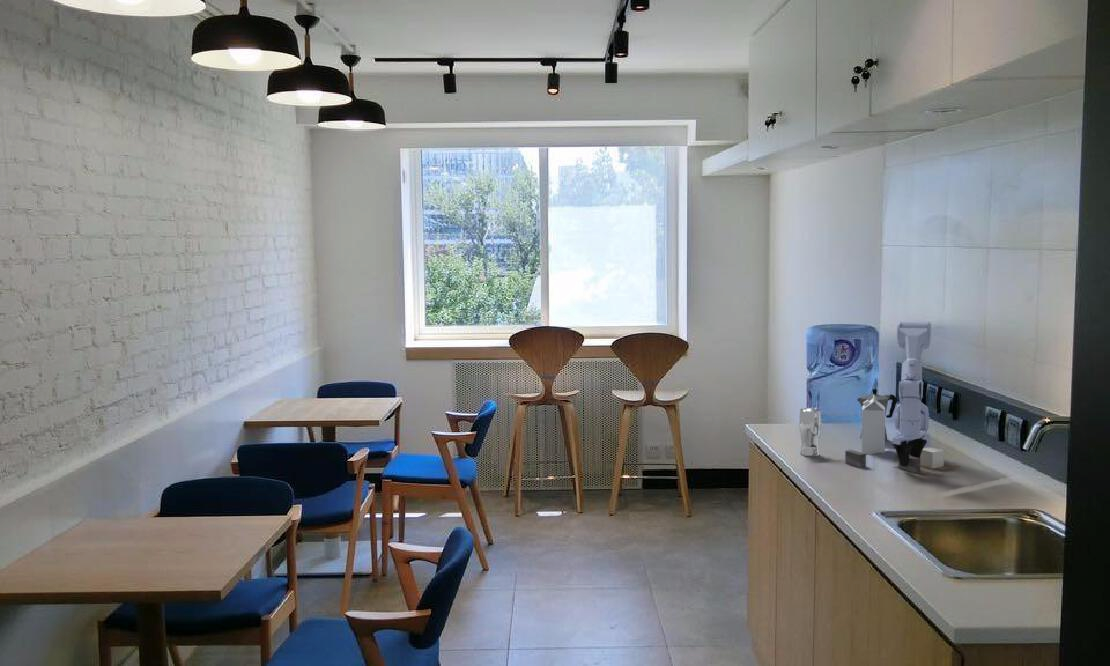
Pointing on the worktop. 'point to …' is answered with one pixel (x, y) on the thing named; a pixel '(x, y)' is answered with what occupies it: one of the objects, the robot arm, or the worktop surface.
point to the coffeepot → (883, 401)
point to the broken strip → (855, 458)
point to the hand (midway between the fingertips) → (909, 464)
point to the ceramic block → (932, 457)
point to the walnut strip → (917, 469)
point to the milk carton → (873, 427)
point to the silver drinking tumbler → (810, 431)
